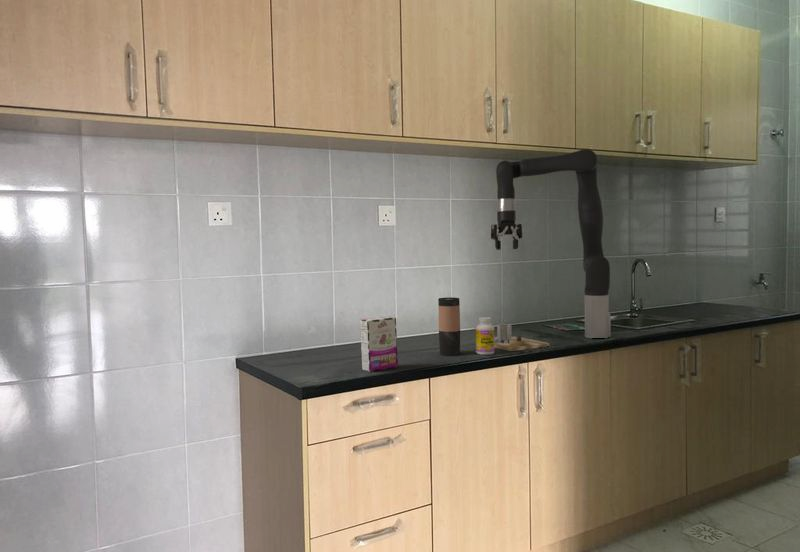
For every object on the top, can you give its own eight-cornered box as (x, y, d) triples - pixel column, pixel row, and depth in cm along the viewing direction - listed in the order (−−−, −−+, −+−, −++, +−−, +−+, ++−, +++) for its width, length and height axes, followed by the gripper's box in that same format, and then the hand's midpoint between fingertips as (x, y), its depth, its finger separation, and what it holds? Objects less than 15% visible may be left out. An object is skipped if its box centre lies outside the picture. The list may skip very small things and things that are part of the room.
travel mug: (464, 353, 229) (463, 297, 228) (454, 356, 223) (452, 299, 221) (446, 351, 233) (444, 297, 232) (435, 355, 227) (434, 299, 226)
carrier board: (514, 339, 258) (514, 324, 257) (549, 346, 239) (549, 331, 239) (477, 343, 249) (477, 328, 249) (510, 351, 231) (510, 335, 230)
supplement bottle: (479, 355, 224) (478, 319, 223) (473, 352, 230) (472, 317, 229) (497, 354, 225) (496, 318, 224) (490, 351, 231) (490, 316, 231)
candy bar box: (389, 365, 211) (388, 315, 210) (398, 367, 207) (397, 317, 206) (360, 370, 204) (359, 318, 203) (369, 372, 200) (368, 320, 199)
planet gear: (507, 338, 252) (507, 322, 252) (523, 341, 243) (522, 325, 243) (486, 340, 248) (486, 324, 247) (501, 344, 239) (501, 327, 238)
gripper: (514, 210, 270) (515, 248, 271) (486, 210, 264) (487, 249, 264) (525, 209, 263) (526, 249, 264) (497, 209, 257) (498, 250, 258)
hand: (506, 249), depth 264 cm, fingers open, 8 cm apart
